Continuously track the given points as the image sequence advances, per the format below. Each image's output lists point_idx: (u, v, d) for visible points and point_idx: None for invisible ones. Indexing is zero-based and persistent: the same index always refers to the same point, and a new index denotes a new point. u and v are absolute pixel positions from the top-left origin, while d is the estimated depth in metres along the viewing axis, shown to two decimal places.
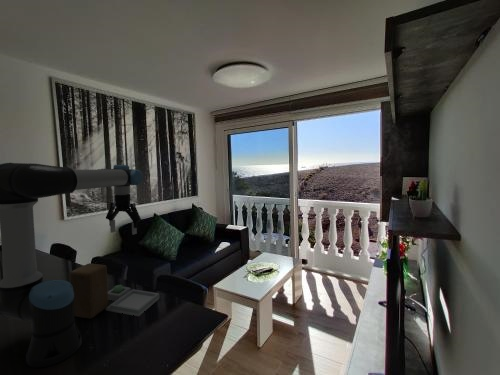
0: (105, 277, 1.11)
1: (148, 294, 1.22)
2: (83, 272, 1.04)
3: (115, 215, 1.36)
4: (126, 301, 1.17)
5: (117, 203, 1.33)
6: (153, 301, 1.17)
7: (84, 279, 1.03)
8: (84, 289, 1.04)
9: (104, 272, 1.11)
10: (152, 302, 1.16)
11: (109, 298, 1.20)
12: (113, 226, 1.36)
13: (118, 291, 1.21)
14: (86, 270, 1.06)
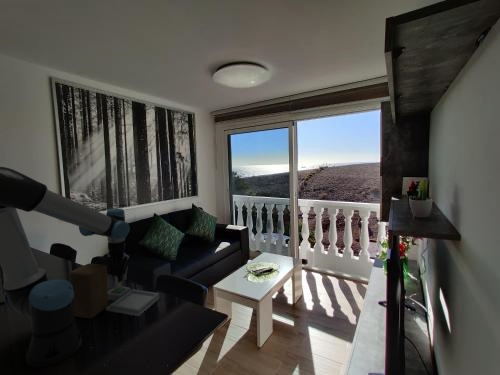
0: (105, 277, 1.11)
1: (148, 294, 1.22)
2: (83, 272, 1.04)
3: None
4: (126, 301, 1.17)
5: (110, 250, 1.21)
6: (153, 301, 1.17)
7: (84, 279, 1.03)
8: (84, 289, 1.04)
9: (104, 272, 1.11)
10: (152, 302, 1.16)
11: (109, 298, 1.20)
12: None
13: (118, 292, 1.21)
14: (86, 270, 1.06)
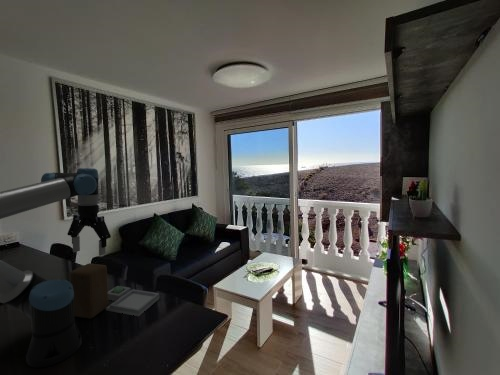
0: (105, 277, 1.11)
1: (148, 294, 1.22)
2: (83, 272, 1.04)
3: (79, 231, 1.09)
4: (126, 301, 1.17)
5: (81, 216, 1.07)
6: (153, 301, 1.17)
7: (84, 279, 1.03)
8: (84, 289, 1.04)
9: (104, 272, 1.11)
10: (152, 302, 1.16)
11: (109, 298, 1.20)
12: (77, 244, 1.10)
13: (118, 292, 1.21)
14: (86, 270, 1.06)
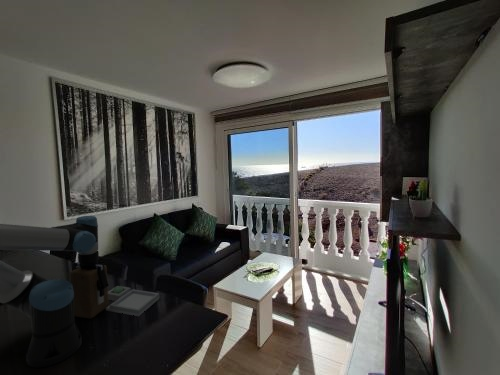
0: None
1: (148, 294, 1.22)
2: (83, 272, 1.04)
3: None
4: (126, 301, 1.17)
5: (81, 263, 1.08)
6: (153, 301, 1.17)
7: (84, 279, 1.03)
8: (84, 289, 1.04)
9: None
10: (152, 302, 1.16)
11: (109, 298, 1.20)
12: None
13: (118, 292, 1.21)
14: (86, 270, 1.06)
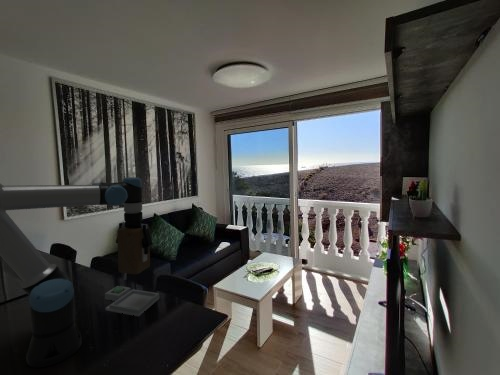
0: None
1: (148, 294, 1.22)
2: (130, 229, 1.09)
3: None
4: (126, 301, 1.17)
5: (127, 222, 1.12)
6: (153, 301, 1.17)
7: (131, 236, 1.08)
8: (130, 246, 1.09)
9: None
10: (152, 302, 1.16)
11: (109, 298, 1.20)
12: None
13: (118, 292, 1.21)
14: (133, 228, 1.10)
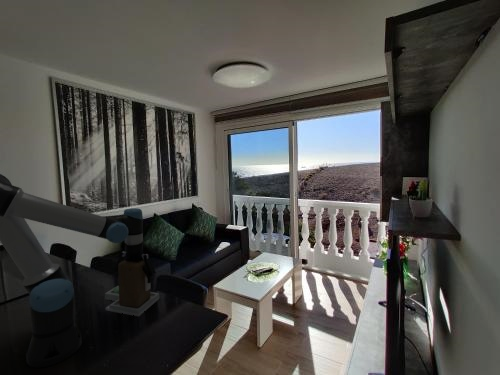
0: None
1: None
2: (131, 264, 1.10)
3: None
4: None
5: (128, 253, 1.14)
6: (153, 301, 1.17)
7: (132, 270, 1.09)
8: (131, 280, 1.10)
9: None
10: (152, 302, 1.16)
11: (109, 298, 1.20)
12: None
13: (118, 292, 1.21)
14: (133, 262, 1.12)
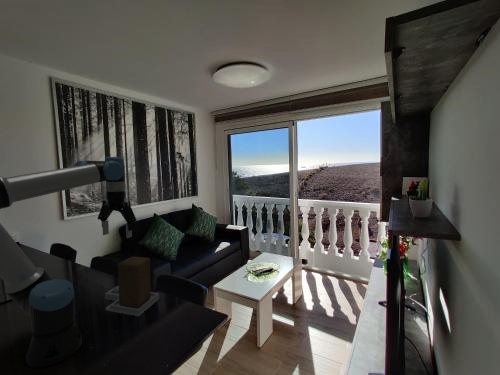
0: (149, 269, 1.17)
1: None
2: (131, 264, 1.10)
3: (108, 215, 1.18)
4: None
5: (110, 201, 1.15)
6: (153, 301, 1.17)
7: (132, 270, 1.09)
8: (131, 280, 1.10)
9: (148, 264, 1.17)
10: (152, 302, 1.16)
11: (109, 298, 1.20)
12: (106, 228, 1.19)
13: (118, 292, 1.21)
14: (133, 262, 1.12)
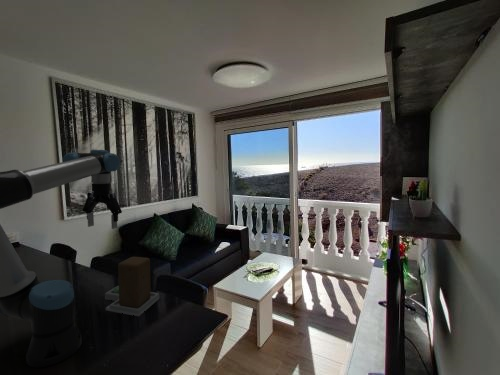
0: (149, 269, 1.17)
1: None
2: (131, 264, 1.10)
3: (93, 207, 1.21)
4: None
5: (95, 193, 1.18)
6: (153, 301, 1.17)
7: (132, 270, 1.09)
8: (131, 280, 1.10)
9: (148, 264, 1.17)
10: (152, 302, 1.16)
11: (109, 298, 1.20)
12: (91, 219, 1.21)
13: (118, 292, 1.21)
14: (133, 262, 1.12)
